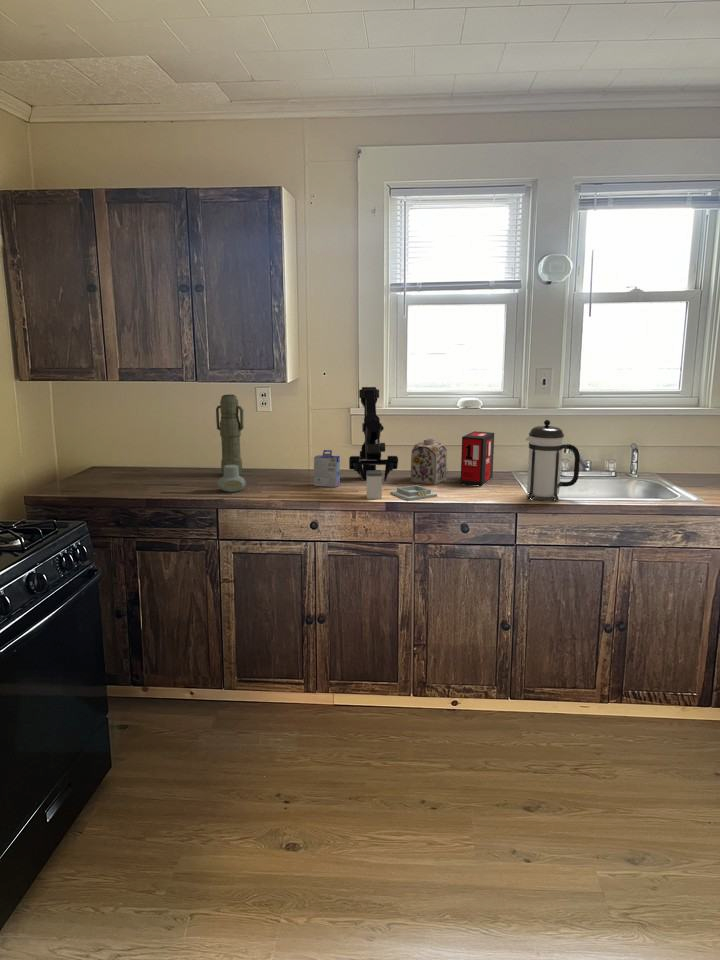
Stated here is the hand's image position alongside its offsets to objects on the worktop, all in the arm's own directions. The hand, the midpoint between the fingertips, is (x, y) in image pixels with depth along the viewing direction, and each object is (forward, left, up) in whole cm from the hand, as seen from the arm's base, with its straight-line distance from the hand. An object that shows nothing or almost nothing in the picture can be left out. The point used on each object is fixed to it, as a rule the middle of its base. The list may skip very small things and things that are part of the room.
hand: (374, 481), depth 266 cm
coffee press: (-26, +60, -7) cm, 66 cm away
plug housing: (-1, -1, -7) cm, 7 cm away
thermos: (-14, -73, -7) cm, 74 cm away
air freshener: (+11, -57, -7) cm, 58 cm away
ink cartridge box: (-12, -26, -7) cm, 29 cm away
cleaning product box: (-43, +29, -7) cm, 53 cm away
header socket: (-10, +12, -7) cm, 17 cm away
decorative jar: (-36, +10, -7) cm, 38 cm away
